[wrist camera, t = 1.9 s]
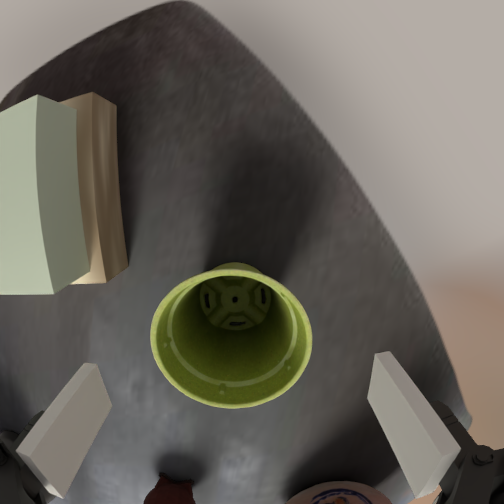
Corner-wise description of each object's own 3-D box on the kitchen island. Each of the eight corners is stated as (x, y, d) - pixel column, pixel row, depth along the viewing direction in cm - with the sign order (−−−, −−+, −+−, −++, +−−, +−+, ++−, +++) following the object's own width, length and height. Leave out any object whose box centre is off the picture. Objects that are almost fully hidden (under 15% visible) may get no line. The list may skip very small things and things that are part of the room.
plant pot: (171, 247, 24) (134, 279, 15) (286, 234, 24) (309, 260, 15) (190, 348, 26) (170, 410, 17) (294, 338, 26) (313, 399, 17)
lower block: (20, 271, 24) (-9, 285, 20) (9, 141, 22) (-22, 138, 17) (130, 265, 25) (106, 282, 20) (118, 106, 22) (92, 91, 17)
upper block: (-6, 277, 19) (-41, 294, 15) (-19, 149, 17) (-57, 147, 12) (90, 271, 19) (54, 294, 15) (76, 109, 17) (37, 94, 12)
